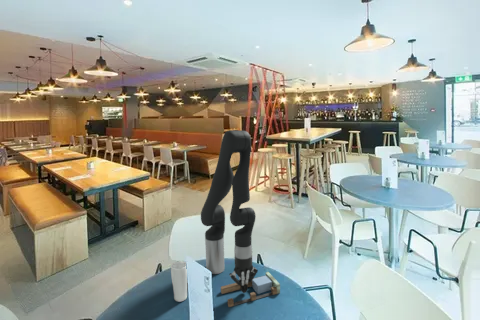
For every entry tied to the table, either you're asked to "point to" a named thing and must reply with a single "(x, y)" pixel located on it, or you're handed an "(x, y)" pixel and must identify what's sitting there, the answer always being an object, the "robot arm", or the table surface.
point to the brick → (261, 284)
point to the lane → (233, 287)
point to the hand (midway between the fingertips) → (243, 291)
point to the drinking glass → (179, 280)
